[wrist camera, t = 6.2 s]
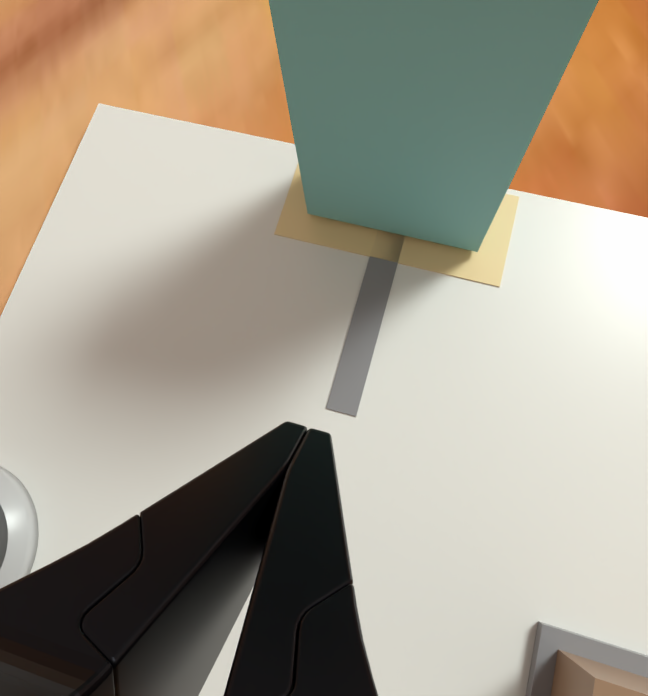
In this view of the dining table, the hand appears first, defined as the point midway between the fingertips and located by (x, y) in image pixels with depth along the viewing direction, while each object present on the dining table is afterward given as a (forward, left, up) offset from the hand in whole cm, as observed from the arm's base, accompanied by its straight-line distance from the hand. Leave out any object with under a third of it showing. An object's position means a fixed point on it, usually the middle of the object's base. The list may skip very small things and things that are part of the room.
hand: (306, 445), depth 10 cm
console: (+1, 0, -8) cm, 8 cm away
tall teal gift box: (+9, 0, -7) cm, 12 cm away
